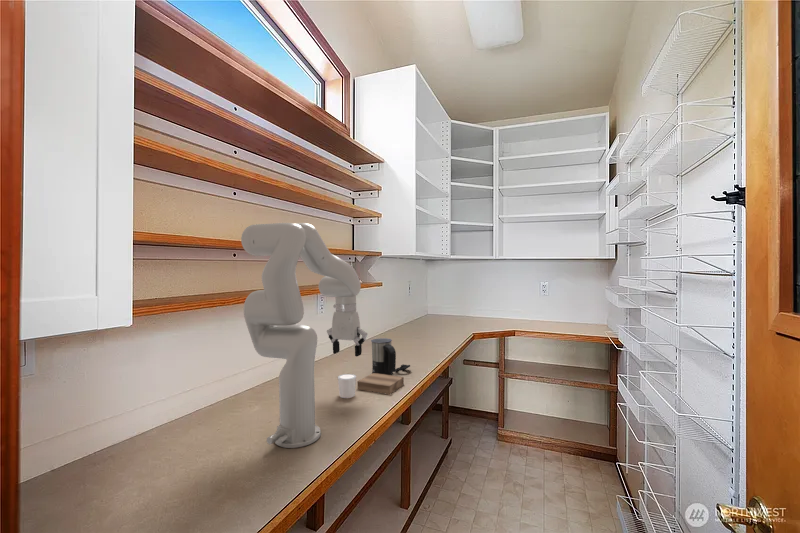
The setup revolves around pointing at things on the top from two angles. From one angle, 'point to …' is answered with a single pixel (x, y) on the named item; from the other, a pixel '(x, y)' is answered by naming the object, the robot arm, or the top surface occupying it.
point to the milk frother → (384, 357)
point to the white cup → (347, 385)
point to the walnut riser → (380, 383)
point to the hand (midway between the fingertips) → (347, 354)
